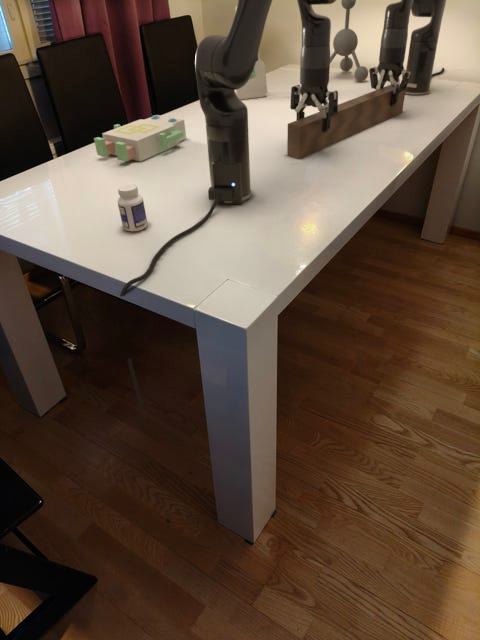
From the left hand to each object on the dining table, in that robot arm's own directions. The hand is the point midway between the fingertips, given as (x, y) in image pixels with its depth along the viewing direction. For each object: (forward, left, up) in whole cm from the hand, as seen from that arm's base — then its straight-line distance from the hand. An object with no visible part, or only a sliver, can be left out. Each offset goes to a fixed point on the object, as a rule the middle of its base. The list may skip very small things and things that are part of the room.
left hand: (312, 128), depth 135 cm
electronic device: (+60, +26, -6) cm, 66 cm away
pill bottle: (-50, +36, -6) cm, 62 cm away
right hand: (+31, -23, -2) cm, 39 cm away
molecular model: (+87, -8, -6) cm, 88 cm away
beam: (+16, -11, -6) cm, 20 cm away
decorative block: (0, +50, -6) cm, 50 cm away
